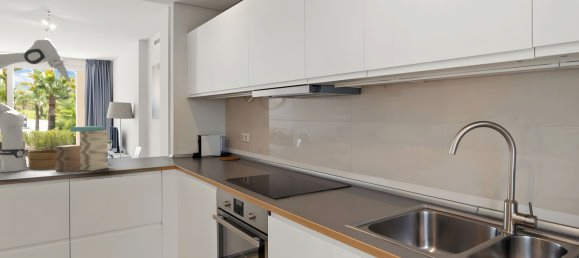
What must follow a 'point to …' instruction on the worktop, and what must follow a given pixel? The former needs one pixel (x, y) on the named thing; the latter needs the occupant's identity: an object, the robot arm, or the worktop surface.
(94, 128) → the batten
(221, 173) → the worktop surface
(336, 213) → the worktop surface
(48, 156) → the wooden planter box
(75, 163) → the low stand
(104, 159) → the tall stand
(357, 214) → the worktop surface
